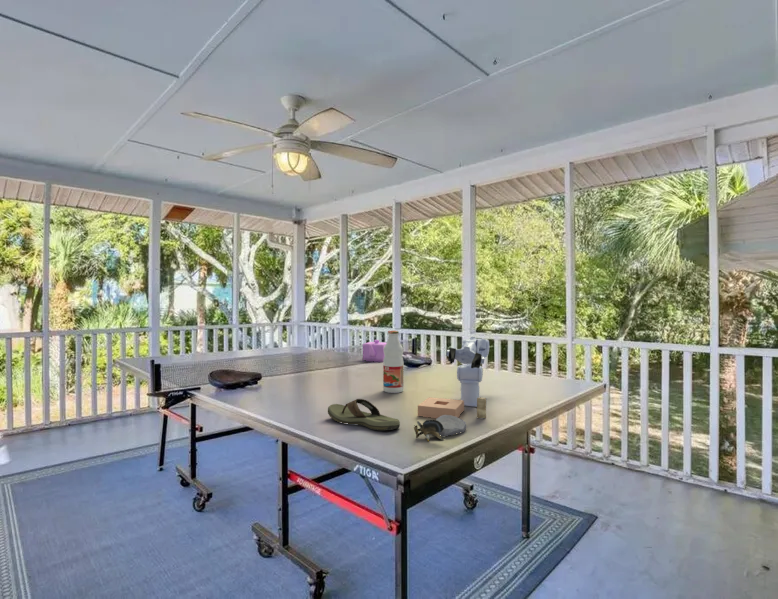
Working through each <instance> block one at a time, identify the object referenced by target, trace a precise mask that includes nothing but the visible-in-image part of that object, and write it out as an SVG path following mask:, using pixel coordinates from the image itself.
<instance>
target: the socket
mask: <svg viewBox="0 0 778 599" xmlns="http://www.w3.org/2000/svg"><path fill="white" fill-rule="evenodd" d="M463 411H464V412H465V406H464V400H461V399H452V398H444V397H443V398H441V397H430V396H428V397H427V398H426V399H424V400H423V401H422V402H420V403H419V404H418V405H417V417H419V416H423V417H422V418H428V417H431V418H430V419H437V418H438V417H440V416H442V415H452V416H455V417H458V418H460V416H461V415H462V414H463V413H464V412H463ZM462 412H463V413H462ZM461 413H462V414H461ZM460 414H461V415H460Z"/></svg>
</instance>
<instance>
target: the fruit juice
mask: <svg viewBox="0 0 778 599" xmlns="http://www.w3.org/2000/svg"><path fill="white" fill-rule="evenodd" d="M399 333H400V332H399V330H388V331H387V335H388V338H387V341H386V342H385V343H386V345H385V347H384V355H385V357H384V361H383V362H382V363H383V364H382V365H383V367H382V369H383V372H382V373H383V374H382V375H383V376H382V377H383V379H382V383H383V385H382V386H383V387H382V388H383V392H385V393H389V394H398V393H402V392H403V391H404V364H405V363H404V358H403V354H404V347H403V345H402V344H401V342H400V339H399Z"/></svg>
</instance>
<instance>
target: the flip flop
mask: <svg viewBox="0 0 778 599" xmlns="http://www.w3.org/2000/svg"><path fill="white" fill-rule="evenodd" d="M358 404H359V405H362V406H363V407H365V408H366V409H368V411H370V412H366V411H362V410H361V409H360V408H359V406H358ZM327 414H328V416H329V417H330V418H331V419H332V420H333V421H334V422H336V421H337V423H338V422H342V423H348V424H358V425H357V426H363V427H365V428H367V429H370V430H372V431H380V432H381V431H383V432H384V431H392V430H397V429H399V428H400V426H401V421H400V419H399V418H394V417H390V416H387V415H383V414H381V413H380V410H379V409H378V408H377V407H376V405H374V404H373V403H371V402H370V401H369V400H367V399H363V398H356V399H354V400H352V401H349V402H347V403H345V405H344V404H339V403H332V404H329V406H328V407H327Z"/></svg>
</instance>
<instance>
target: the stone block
mask: <svg viewBox="0 0 778 599" xmlns="http://www.w3.org/2000/svg"><path fill="white" fill-rule="evenodd" d="M435 420H437V421H439V422H440V423H441V424H442V425H443V428H444V429H443V431H442V432H437V433H439V435H441V436H442V437H443V436H447V437H449V436H448V435H451V436H454V435H453V434H455V435H457V434H456V433H459V434H461V433H460V432H463V433H465V431H466V429H467V422H466V421H465V420H464V419H461V418H460V417H455V416H452V415H442V416H440V417H438V418H435Z"/></svg>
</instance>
